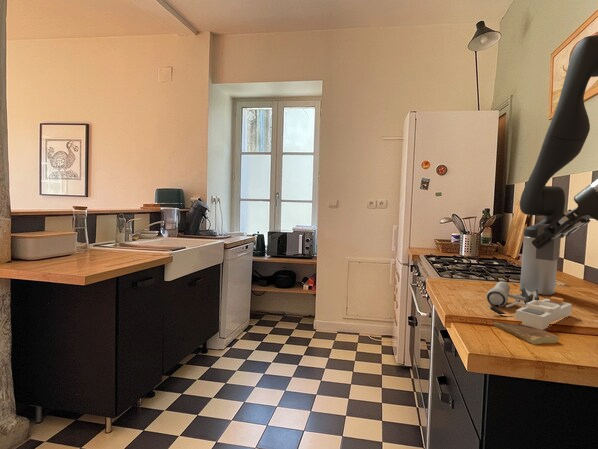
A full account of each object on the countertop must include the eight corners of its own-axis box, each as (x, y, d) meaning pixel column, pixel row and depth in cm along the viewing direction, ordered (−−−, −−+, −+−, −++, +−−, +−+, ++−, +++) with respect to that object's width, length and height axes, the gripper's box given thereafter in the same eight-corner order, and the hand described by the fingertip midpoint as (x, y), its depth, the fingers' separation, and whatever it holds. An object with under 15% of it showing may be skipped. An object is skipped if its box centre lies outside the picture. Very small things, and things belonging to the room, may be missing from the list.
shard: (491, 327, 82) (492, 319, 82) (520, 325, 84) (521, 318, 84) (530, 346, 72) (531, 337, 72) (563, 344, 73) (563, 336, 73)
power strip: (549, 307, 97) (550, 293, 97) (574, 313, 92) (576, 298, 92) (515, 322, 84) (516, 305, 84) (542, 330, 80) (543, 312, 79)
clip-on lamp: (529, 334, 85) (540, 302, 99) (533, 311, 83) (544, 281, 97) (476, 318, 93) (493, 290, 106) (478, 296, 91) (495, 271, 104)
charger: (542, 257, 87) (544, 224, 87) (559, 259, 84) (561, 225, 84) (535, 258, 85) (538, 224, 84) (552, 260, 82) (555, 225, 81)
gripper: (603, 183, 82) (538, 232, 92) (582, 180, 73) (514, 234, 84) (632, 207, 78) (561, 255, 88) (614, 207, 69) (538, 260, 80)
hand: (538, 244), depth 86 cm, fingers closed on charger, 4 cm apart
